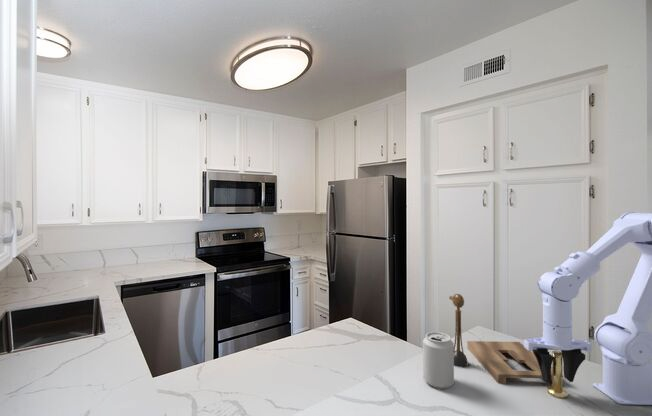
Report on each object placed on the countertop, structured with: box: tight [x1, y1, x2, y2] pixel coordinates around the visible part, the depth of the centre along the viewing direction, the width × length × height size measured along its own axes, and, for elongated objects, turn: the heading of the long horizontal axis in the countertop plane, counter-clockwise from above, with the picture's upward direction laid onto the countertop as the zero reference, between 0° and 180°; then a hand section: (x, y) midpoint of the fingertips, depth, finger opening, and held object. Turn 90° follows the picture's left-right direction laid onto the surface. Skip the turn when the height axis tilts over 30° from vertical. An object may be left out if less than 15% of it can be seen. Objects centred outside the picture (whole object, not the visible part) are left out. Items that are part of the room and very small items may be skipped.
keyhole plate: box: [466, 340, 564, 386], centre depth 91 cm, size 16×20×2 cm
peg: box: [546, 350, 569, 400], centre depth 77 cm, size 4×4×10 cm
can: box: [422, 331, 455, 389], centre depth 82 cm, size 8×8×12 cm
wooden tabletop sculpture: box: [448, 293, 468, 368], centre depth 92 cm, size 6×5×20 cm
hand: (557, 379), depth 77 cm, fingers open, 5 cm apart
